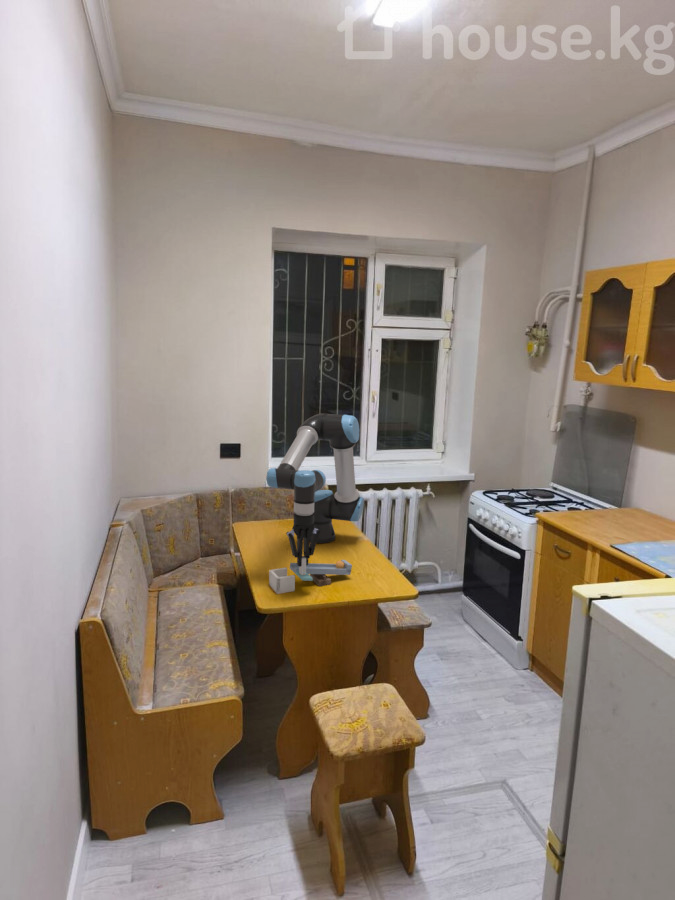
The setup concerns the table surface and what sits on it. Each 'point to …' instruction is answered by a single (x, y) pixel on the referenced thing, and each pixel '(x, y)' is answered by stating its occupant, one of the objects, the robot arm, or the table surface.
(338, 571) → the lever
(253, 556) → the table surface
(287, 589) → the bin
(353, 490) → the robot arm
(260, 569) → the table surface
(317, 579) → the brown recessed block
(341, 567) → the ball
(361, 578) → the table surface
